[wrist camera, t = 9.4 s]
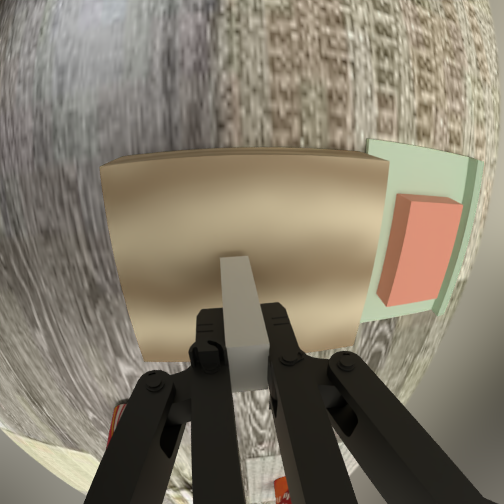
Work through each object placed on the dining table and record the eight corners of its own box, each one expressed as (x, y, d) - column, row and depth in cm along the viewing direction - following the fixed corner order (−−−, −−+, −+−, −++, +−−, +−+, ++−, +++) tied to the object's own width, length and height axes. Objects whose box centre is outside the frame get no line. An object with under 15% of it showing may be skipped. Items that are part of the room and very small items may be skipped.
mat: (366, 138, 18) (377, 140, 16) (472, 158, 19) (484, 161, 18) (339, 323, 25) (345, 334, 23) (435, 306, 26) (443, 314, 25)
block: (463, 204, 18) (448, 197, 20) (411, 201, 18) (396, 193, 19) (436, 298, 22) (425, 287, 24) (386, 307, 22) (376, 293, 23)
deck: (122, 156, 17) (99, 166, 13) (359, 151, 18) (389, 161, 15) (152, 327, 23) (144, 361, 19) (336, 315, 24) (353, 345, 21)
